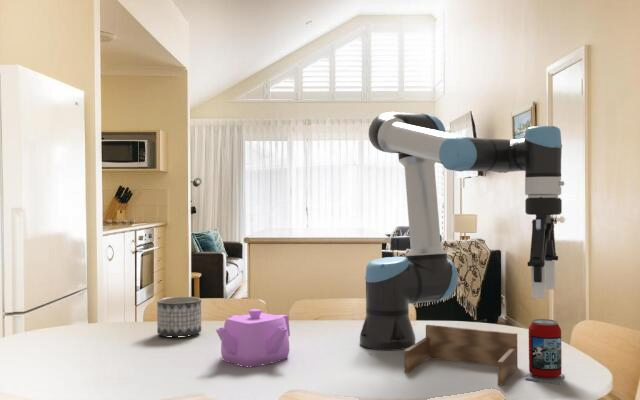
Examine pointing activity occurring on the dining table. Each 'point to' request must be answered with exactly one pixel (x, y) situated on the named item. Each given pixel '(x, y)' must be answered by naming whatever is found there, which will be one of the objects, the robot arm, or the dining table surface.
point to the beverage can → (545, 348)
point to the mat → (555, 380)
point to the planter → (179, 316)
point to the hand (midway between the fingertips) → (543, 293)
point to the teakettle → (255, 338)
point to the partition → (466, 349)
